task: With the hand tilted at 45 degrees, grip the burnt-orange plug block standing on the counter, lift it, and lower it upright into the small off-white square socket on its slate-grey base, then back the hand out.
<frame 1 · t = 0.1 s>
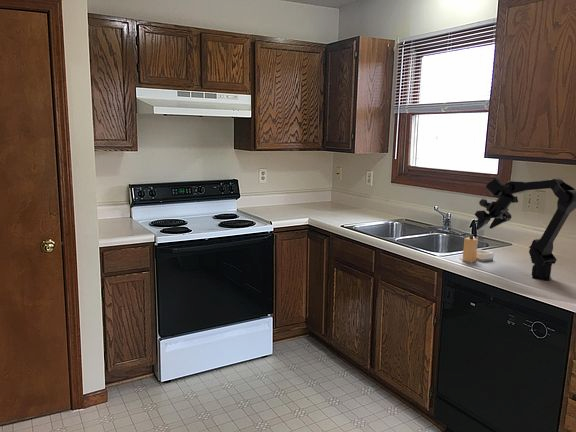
hand: (483, 228, 225), 15 cm above the worktop, tool tilted 35°, fingers open, 9 cm apart
socket: (481, 259, 227), on the worktop
plug: (469, 260, 224), on the worktop
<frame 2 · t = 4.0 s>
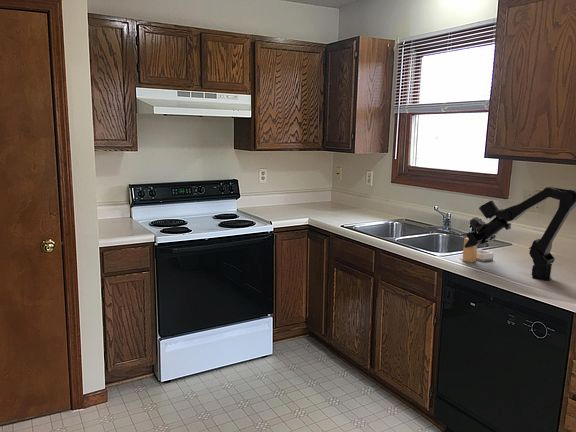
hand: (467, 246, 223), 7 cm above the worktop, tool tilted 45°, fingers closed on plug, 4 cm apart
plug: (469, 260, 224), on the worktop, touching gripper
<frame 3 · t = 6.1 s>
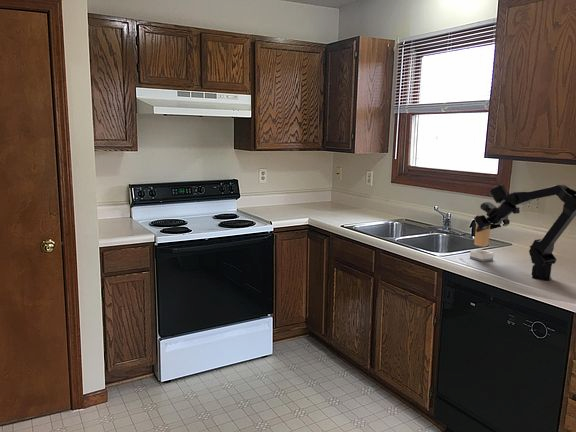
hand: (480, 230, 226), 13 cm above the worktop, tool tilted 45°, fingers closed on plug, 4 cm apart
plug: (481, 245, 226), point 7 cm above the worktop, touching gripper
when the fingers open (8 cm above the worktop, at t = 8.1 s): plug stays where it is, resting on socket.
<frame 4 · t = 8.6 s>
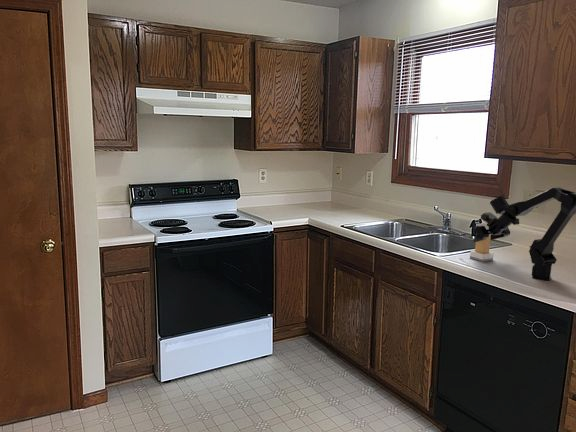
hand: (480, 240, 227), 9 cm above the worktop, tool tilted 45°, fingers open, 9 cm apart
plug: (481, 256, 227), point 1 cm above the worktop, touching socket
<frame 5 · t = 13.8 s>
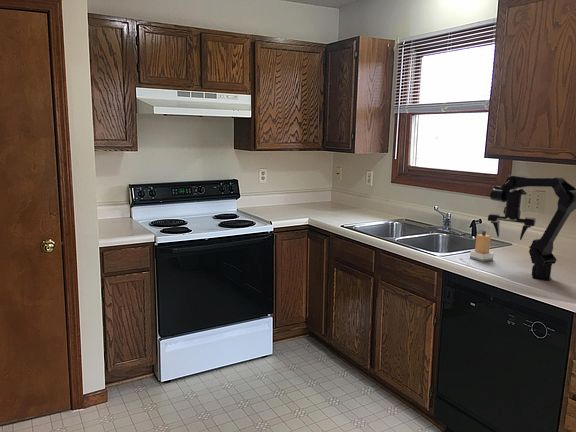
hand: (509, 238, 213), 13 cm above the worktop, tool pointing down, fingers open, 9 cm apart
nothing on the worktop moved.
at the end: plug 0.1 cm off-centre on the socket, point 1.0 cm above the socket's base; plug tilted 0°; the gripper is holding nothing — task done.
